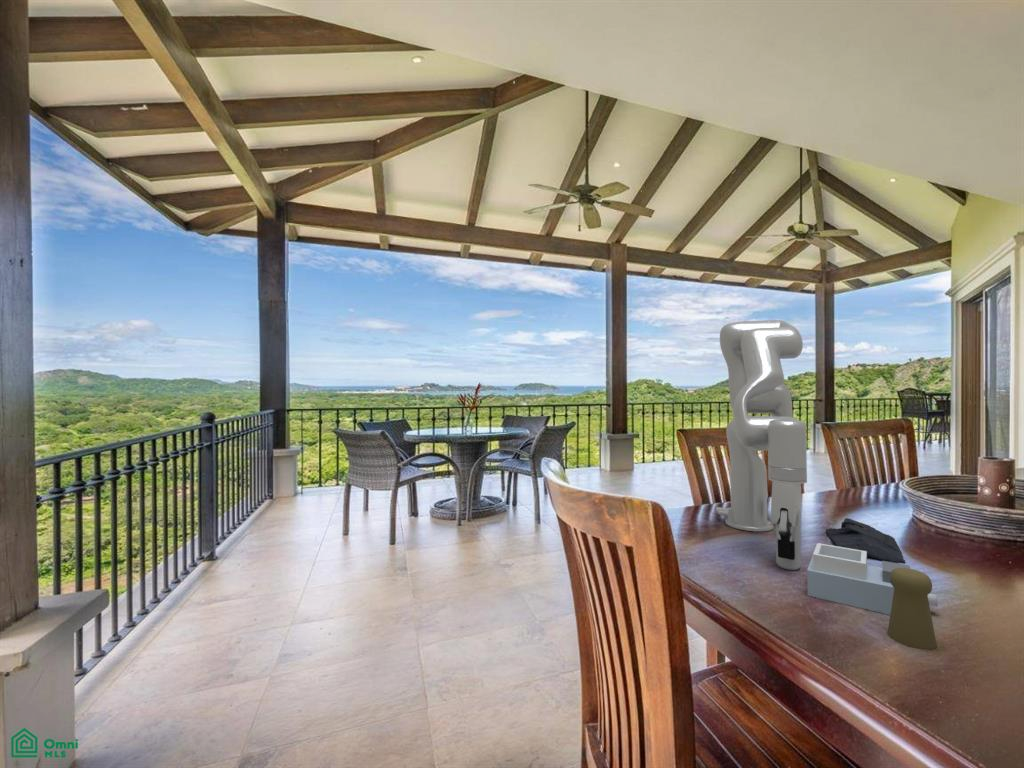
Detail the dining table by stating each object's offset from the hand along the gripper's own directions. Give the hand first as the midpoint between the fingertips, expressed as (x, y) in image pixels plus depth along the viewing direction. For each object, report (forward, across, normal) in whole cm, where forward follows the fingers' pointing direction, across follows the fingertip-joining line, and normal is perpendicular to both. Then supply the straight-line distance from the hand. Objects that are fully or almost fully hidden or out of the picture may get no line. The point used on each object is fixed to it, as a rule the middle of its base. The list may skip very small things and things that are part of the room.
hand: (788, 553), depth 104 cm
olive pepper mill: (+3, +22, +20) cm, 30 cm away
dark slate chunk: (+4, -27, +13) cm, 30 cm away
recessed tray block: (+3, +9, +15) cm, 18 cm away
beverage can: (+3, 0, 0) cm, 3 cm away
